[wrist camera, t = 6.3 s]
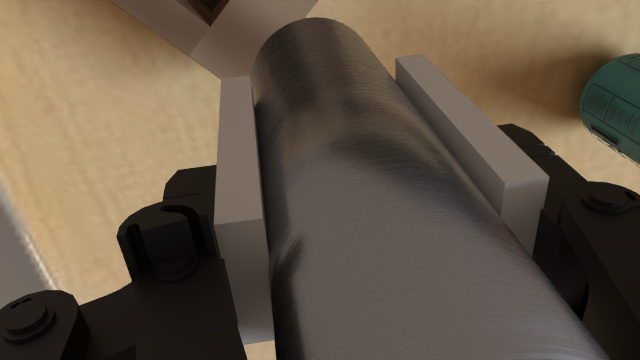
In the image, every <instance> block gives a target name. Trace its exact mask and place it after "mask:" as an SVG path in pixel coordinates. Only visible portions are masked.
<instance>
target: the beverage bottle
mask: <svg viewBox="0 0 640 360" xmlns="http://www.w3.org/2000/svg"><path fill="white" fill-rule="evenodd" d="M580 115H581V119H582V121H583V124H585V125H584V126H586V127H587V128H588V130H589V132H590V131H591V132H592V133H593V134H595V135H596V136H598V137H599V138H601V139H602V140H603V141H605V142H606V143H608V144H610V145H611V146H612V148H613V147H614V148H616V149H617V151H618V150H619V151H618V152H620V153H621V152H622V153H623V154H625V155H626V156H628V157H629V158H631V159H632V160H633V161H635V162H636V163H638V164H640V54H637V53H635V54H628V55H623V56H620V57H617V58H615V59H613V60H611V61H609V62H607V63H606V64H604V65H603V66H602V67H601V68H599V69H598V70H597V71H596V72H595V73H594V74H593V76H592V77H591V78H590V79H589V81H588V83H587V84H586V86H585V88H584V90H583V93H582V95H581V99H580ZM586 127H585V128H586ZM586 130H587V129H586ZM591 132H590V133H591ZM593 137H594V136H593ZM597 139H598V138H597ZM598 140H599V141H600V139H598ZM601 142H602V141H601ZM602 143H603V142H602ZM605 145H607V144H605ZM610 145H608V147H609V146H610ZM611 146H610V147H611ZM612 148H611V149H612ZM614 148H613V149H614ZM616 149H615V150H616ZM615 150H614V151H615ZM618 152H617V153H618ZM622 153H621V154H622ZM621 154H620V155H621ZM623 157H624V156H623ZM631 159H630V160H631ZM632 160H631V161H632ZM635 162H634V163H635ZM636 163H635V164H636ZM638 164H637V165H638ZM638 166H639V165H638ZM639 168H640V167H639Z"/></svg>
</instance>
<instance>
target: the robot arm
mask: <svg viewBox="0 0 640 360" xmlns="http://www.w3.org/2000/svg"><path fill="white" fill-rule="evenodd" d="M396 83H397V84H398V85H399V87H400V88H401V89H402V91H403V92H404V93H405V94H406V96H407V97H408V98H409V100H410V101H411V102H412V104H413V105H414V106H415V107H416V109H417V110H418V111H419V113H420V114H421V115H422V116H423V118H424V119H425V120H426V122H427V123H428V124H429V125H430V127H431V128H432V129H433V131H434V132H435V133H436V134H437V136H438V137H439V138H440V140H441V141H442V142H443V144H444V145H445V146H446V147H447V149H448V150H449V151H450V153H451V154H452V155H453V156H454V158H455V159H456V160H457V162H458V163H459V164H460V165H461V167H462V168H463V169H464V171H465V172H466V173H467V174H468V176H469V177H470V178H471V180H472V181H473V182H474V184H475V185H476V186H477V187H478V189H479V190H480V191H481V193H482V194H483V195H484V196H485V198H486V199H487V200H488V202H489V203H490V204H491V205H492V207H493V208H494V209H495V211H496V212H497V213H498V214H499V216H500V217H501V218H502V220H503V221H504V222H505V224H506V225H507V226H508V227H509V229H510V230H511V231H512V233H513V234H514V235H515V236H516V238H517V239H518V240H519V242H520V243H521V244H522V245H523V247H524V248H525V249H526V251H527V252H528V253H529V254H530V256H531V257H532V258H533V260H534V261H535V262H536V264H537V265H538V266H539V267H540V269H541V270H542V271H543V273H544V274H545V275H546V276H547V278H548V279H549V280H550V282H551V283H552V284H553V285H554V287H555V288H556V289H557V291H558V292H559V293H560V294H561V296H562V297H563V298H564V300H565V301H566V302H567V304H568V305H569V306H570V307H571V309H572V310H573V311H574V313H575V314H576V315H577V316H578V318H579V319H580V320H581V322H582V323H583V324H584V325H585V327H586V328H587V329H588V331H589V332H590V333H591V334H592V336H593V337H594V338H595V340H596V341H597V342H598V344H599V345H600V346H601V347H602V349H603V350H604V351H605V353H606V354H607V355H608V356H609V358H610V359H611V360H640V195H639V194H637V193H636V192H634V191H632V190H629V189H627V188H625V187H623V186H619V185H615V184H611V183H607V182H593V181H589V182H588V181H587V180H586V179H584V178H583V177H582V176H581V175H580V174H579V173H578V172H576V171H575V170H574V169H573V168H572V167H571V166H570V165H568V164H567V163H566V162H565V161H564V160H563V159H562V158H560V157H559V156H558V155H555V152H554V151H552V150H551V149H550V148H549V147H548V146H545V145H544V143H543V142H542V141H541V140H540V139H539V138H538V137H536V136H535V135H534V134H533V133H532V132H530V131H528V130H525V129H523V128H521V127H518V126H516V125H514V124H505V125H498V126H496V125H495V124H494V123H493V122H492V121H491V120H490V119H489V118H488V117H487V116H486V115H485V114H484V113H483V112H482V111H481V110H480V109H479V108H478V107H477V106H476V105H475V104H474V103H472V102H471V101H470V100H469V99H468V98H467V97H466V96H465V95H464V94H463V93H462V92H461V91H460V90H459V89H458V88H457V87H456V86H455V85H454V84H453V83H452V82H451V81H450V80H449V79H448V78H447V77H445V76H444V75H443V74H442V73H441V72H440V71H439V70H438V69H437V68H436V67H435V66H434V65H433V64H432V63H431V62H430V61H429V60H428V59H427V58H426V57H425V56H424V55H415V56H407V57H399V58H396ZM116 237H117V240H118V243H119V245H120V248H121V251H122V254H123V257H124V260H125V262H126V265H127V268H128V271H129V274H130V276H131V279H132V282H131V283H129V284H128V285H126V286H125V287H123V288H121V289H120V290H117V291H115V292H113V293H111V294H109V295H106V296H104V297H101V298H98V299H96V300H93V301H90V302H88V303H85V304H82V305H80V306H79V305H78V303H77V301H76V299H75V298H74V296H73V295H71V294H69V293H67V292H64V291H62V290H44V291H40V292H36V293H32V294H28V295H25V296H23V297H21V298H19V299H17V300H15V301H13V302H11V303H9V304H7V305H6V306H5V307H3V308H2V309H0V360H247V357H246V353H245V350H244V346H243V345H246V344H252V343H258V342H264V341H270V340H275V338H274V327H273V316H272V305H271V294H270V283H269V263H270V260H269V249H268V239H267V228H266V218H265V208H264V197H263V187H262V176H261V166H260V156H259V145H258V135H257V124H256V114H255V105H254V98H253V91H252V85H251V78H250V75H248V76H240V77H232V78H223V79H221V94H220V113H219V132H218V151H217V165H212V166H204V167H197V168H189V169H182V170H178V171H177V172H176V173H175V174H174V175H173V176H172V177H171V178H170V180H169V181H168V182H167V183H166V185H165V190H164V195H163V201H162V202H158V203H155V204H153V205H150V206H147V207H144V208H142V209H140V210H139V211H137V212H135V213H134V214H132V215H130V216H129V217H128V218H127V219H126V220H125V221H124V222H123V223H122V224H121V225H120V227H119V230H118V233H117V236H116Z"/></svg>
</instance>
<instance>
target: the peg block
mask: <svg viewBox="0 0 640 360" xmlns="http://www.w3.org/2000/svg"><path fill="white" fill-rule="evenodd" d="M111 1H112V2H114V3H115V4H116V5H118V6H119V7H121V8H122V9H123V10H125V11H126V12H127V13H129V14H130V15H132V16H133V17H134V18H136V19H137V20H139V21H140V22H141V23H143V24H144V25H146V26H147V27H148V28H150V29H151V30H153V31H154V32H155V33H157V34H158V35H160V36H161V37H162V38H164V39H165V40H167V41H168V42H169V43H171V44H172V45H174V46H175V47H176V48H178V49H179V50H180V51H182V52H183V53H185V54H186V55H187V56H189V57H190V58H192V59H193V60H194V61H196V62H197V63H199V64H200V65H201V66H203V67H204V68H206V69H207V70H208V71H210V72H211V73H213V74H214V75H215V76H217V77H218V78H220V79H223V78H232V77H240V76H248V75H250V78H251V79H252V69H253V65H254V62H255V59H256V56H257V54H258V52H259V50H260V49H261V47H262V46H263V44H264V43H265V42H266V40H267V39H268V38H269V37H270V36H271V35H272V34H273V33H275V32H276V31H277V30H279V29H280V28H282V27H283V26H285V25H287V24H289V23H291V22H294V21H297V20H300V19H304V18H305V17H306V15H307V14H308V13H309V12H310V10H311V9H312V8H313V7H314V5H315V4H316V3H317V2H318V0H111ZM251 84H252V82H251Z"/></svg>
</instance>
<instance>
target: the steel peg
mask: <svg viewBox="0 0 640 360" xmlns="http://www.w3.org/2000/svg"><path fill="white" fill-rule="evenodd" d="M251 82H252V91H253V98H254V105H255V114H256V124H257V135H258V145H259V156H260V166H261V176H262V187H263V197H264V208H265V218H266V228H267V239H268V249H269V260H270V263H269V283H270V294H271V305H272V316H273V327H274V338H275V350H276V360H611V359H610V358H609V356H608V355H607V354H606V353H605V351H604V350H603V349H602V347H601V346H600V345H599V344H598V342H597V341H596V340H595V338H594V337H593V336H592V334H591V333H590V332H589V331H588V329H587V328H586V327H585V325H584V324H583V323H582V322H581V320H580V319H579V318H578V316H577V315H576V314H575V313H574V311H573V310H572V309H571V307H570V306H569V305H568V304H567V302H566V301H565V300H564V298H563V297H562V296H561V294H560V293H559V292H558V291H557V289H556V288H555V287H554V285H553V284H552V283H551V282H550V280H549V279H548V278H547V276H546V275H545V274H544V273H543V271H542V270H541V269H540V267H539V266H538V265H537V264H536V262H535V261H534V260H533V258H532V257H531V256H530V254H529V253H528V252H527V251H526V249H525V248H524V247H523V245H522V244H521V243H520V242H519V240H518V239H517V238H516V236H515V235H514V234H513V233H512V231H511V230H510V229H509V227H508V226H507V225H506V224H505V222H504V221H503V220H502V218H501V217H500V216H499V214H498V213H497V212H496V211H495V209H494V208H493V207H492V205H491V204H490V203H489V202H488V200H487V199H486V198H485V196H484V195H483V194H482V193H481V191H480V190H479V189H478V187H477V186H476V185H475V184H474V182H473V181H472V180H471V178H470V177H469V176H468V174H467V173H466V172H465V171H464V169H463V168H462V167H461V165H460V164H459V163H458V162H457V160H456V159H455V158H454V156H453V155H452V154H451V153H450V151H449V150H448V149H447V147H446V146H445V145H444V144H443V142H442V141H441V140H440V138H439V137H438V136H437V134H436V133H435V132H434V131H433V129H432V128H431V127H430V125H429V124H428V123H427V122H426V120H425V119H424V118H423V116H422V115H421V114H420V113H419V111H418V110H417V109H416V107H415V106H414V105H413V104H412V102H411V101H410V100H409V98H408V97H407V96H406V94H405V93H404V92H403V91H402V89H401V88H400V87H399V85H398V84H397V83H396V82H395V80H394V79H393V78H392V76H391V75H390V74H389V73H388V71H387V70H386V69H385V67H384V66H383V65H382V64H381V62H380V61H379V60H378V58H377V57H376V56H375V54H374V53H373V52H372V51H371V49H370V48H369V47H368V45H367V44H366V43H365V42H364V40H363V39H362V38H361V37H360V36H359V35H358V34H357V33H356V32H355V31H354V30H352V29H351V28H350V27H348V26H346V25H345V24H343V23H340V22H338V21H335V20H332V19H327V18H318V17H317V18H305V19H300V20H297V21H294V22H291V23H289V24H287V25H285V26H283V27H282V28H280V29H279V30H277V31H276V32H275V33H273V34H272V35H271V36H270V37H269V38H268V39H267V40H266V42H265V43H264V44H263V46H262V47H261V49H260V50H259V52H258V54H257V56H256V59H255V62H254V65H253V69H252V79H251Z"/></svg>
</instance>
